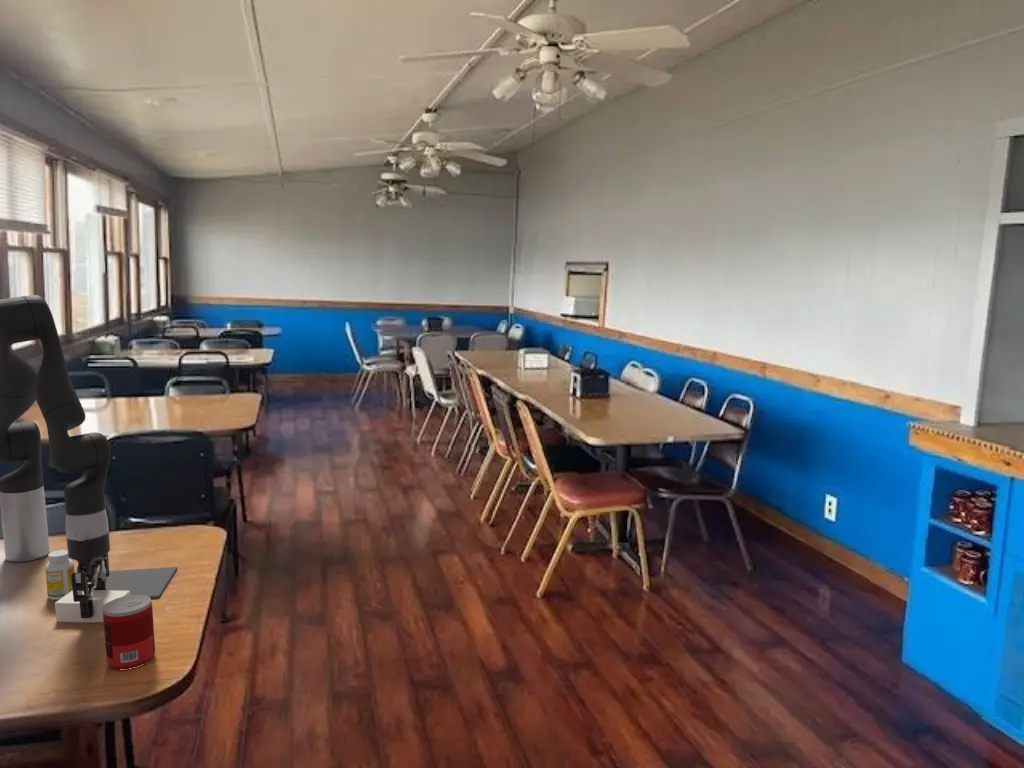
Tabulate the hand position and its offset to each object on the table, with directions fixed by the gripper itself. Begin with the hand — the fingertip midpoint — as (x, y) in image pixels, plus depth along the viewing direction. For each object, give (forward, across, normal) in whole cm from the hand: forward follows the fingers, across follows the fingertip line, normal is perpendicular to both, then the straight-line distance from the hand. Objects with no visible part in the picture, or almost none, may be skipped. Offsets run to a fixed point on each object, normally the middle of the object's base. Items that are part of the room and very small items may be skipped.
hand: (94, 609), depth 158 cm
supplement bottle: (+1, -11, -10) cm, 15 cm away
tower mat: (+1, -14, +3) cm, 15 cm away
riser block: (+1, 0, 0) cm, 1 cm away
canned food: (+2, +21, +13) cm, 24 cm away
